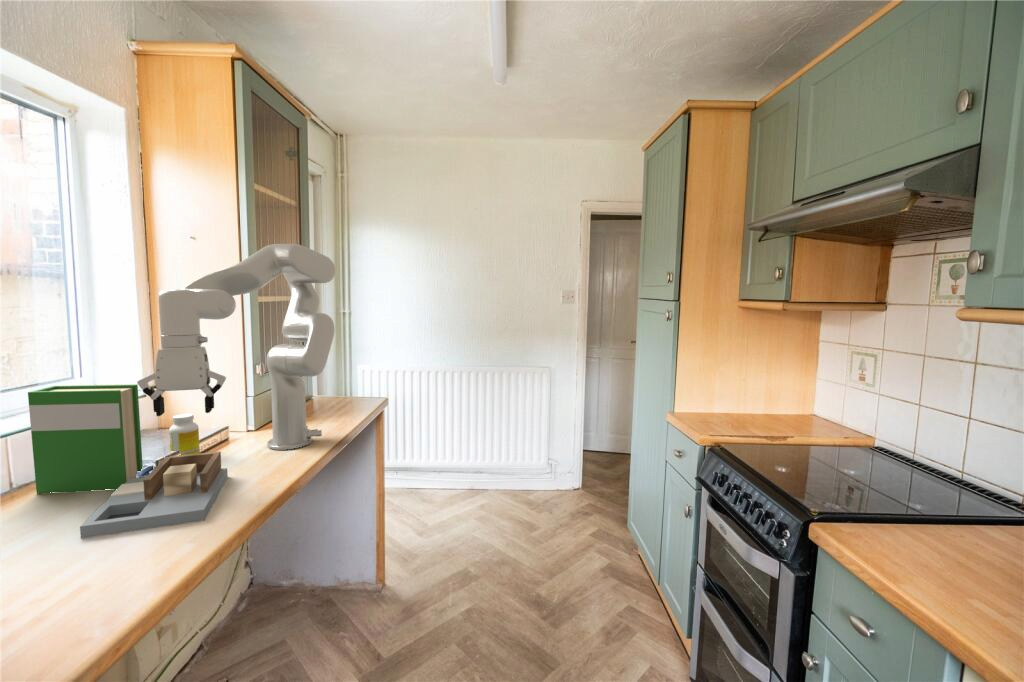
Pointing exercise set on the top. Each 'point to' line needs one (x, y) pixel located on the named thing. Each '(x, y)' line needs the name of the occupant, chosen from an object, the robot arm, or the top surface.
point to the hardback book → (85, 437)
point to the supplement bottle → (184, 435)
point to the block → (180, 479)
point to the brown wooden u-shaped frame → (204, 463)
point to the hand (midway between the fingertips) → (185, 413)
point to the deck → (150, 508)
